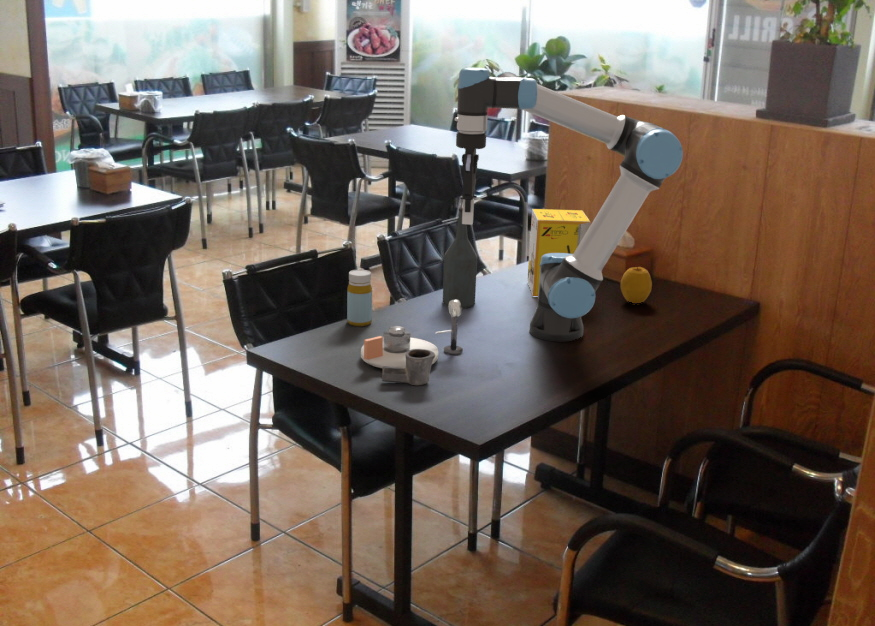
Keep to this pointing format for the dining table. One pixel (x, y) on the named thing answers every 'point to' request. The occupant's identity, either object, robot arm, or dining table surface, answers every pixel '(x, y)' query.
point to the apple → (636, 284)
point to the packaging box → (553, 237)
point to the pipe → (411, 368)
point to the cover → (396, 340)
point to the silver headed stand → (453, 328)
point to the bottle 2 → (460, 269)
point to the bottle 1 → (359, 298)
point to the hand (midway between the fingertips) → (467, 223)
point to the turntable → (379, 357)
